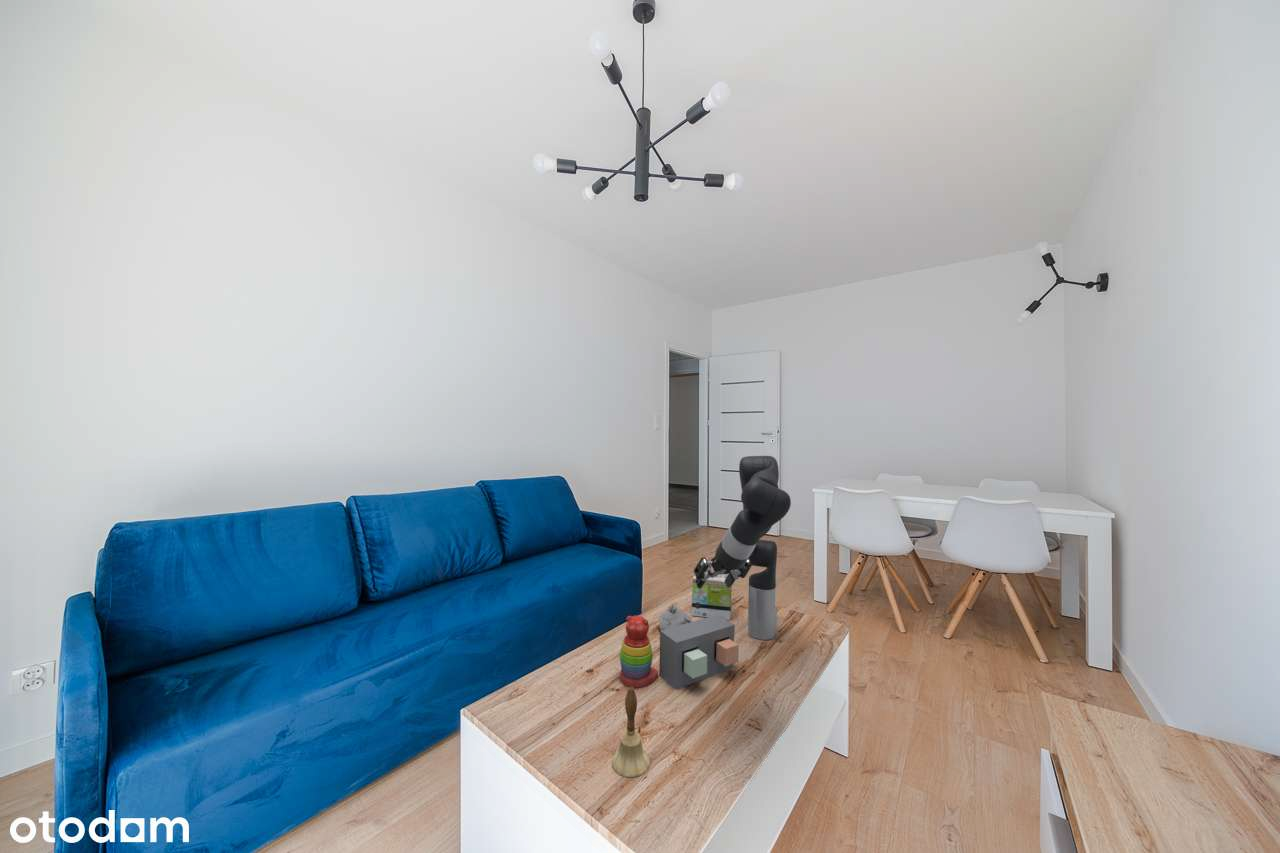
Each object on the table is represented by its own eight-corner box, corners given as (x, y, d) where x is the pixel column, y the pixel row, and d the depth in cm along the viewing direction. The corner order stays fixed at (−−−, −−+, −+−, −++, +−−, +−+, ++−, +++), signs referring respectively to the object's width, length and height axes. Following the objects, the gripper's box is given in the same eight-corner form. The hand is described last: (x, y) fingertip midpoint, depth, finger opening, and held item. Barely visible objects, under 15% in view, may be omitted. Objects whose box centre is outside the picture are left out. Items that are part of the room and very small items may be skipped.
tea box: (691, 617, 166) (692, 578, 166) (692, 606, 176) (693, 570, 176) (731, 620, 164) (731, 581, 164) (730, 609, 174) (730, 573, 174)
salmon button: (728, 655, 130) (729, 638, 130) (738, 661, 126) (738, 644, 126) (716, 659, 127) (716, 642, 127) (725, 666, 124) (725, 648, 124)
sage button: (697, 666, 123) (698, 648, 123) (706, 673, 120) (707, 655, 120) (683, 671, 121) (684, 653, 121) (692, 678, 117) (693, 660, 117)
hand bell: (610, 777, 89) (611, 700, 89) (612, 747, 97) (614, 677, 98) (650, 778, 89) (652, 700, 89) (649, 748, 98) (650, 677, 98)
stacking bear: (660, 674, 127) (661, 613, 127) (646, 692, 118) (647, 627, 118) (627, 664, 132) (628, 606, 132) (611, 682, 122) (612, 619, 123)
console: (715, 655, 138) (716, 614, 138) (733, 667, 131) (734, 624, 131) (659, 675, 126) (660, 630, 126) (675, 689, 120) (676, 642, 120)
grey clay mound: (683, 647, 148) (679, 620, 146) (653, 637, 155) (649, 612, 152) (697, 624, 158) (694, 599, 155) (669, 616, 164) (666, 592, 162)
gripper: (755, 534, 111) (730, 572, 120) (705, 533, 106) (684, 573, 115) (767, 558, 105) (741, 596, 114) (716, 559, 101) (692, 598, 110)
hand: (712, 584), depth 115 cm, fingers open, 8 cm apart
